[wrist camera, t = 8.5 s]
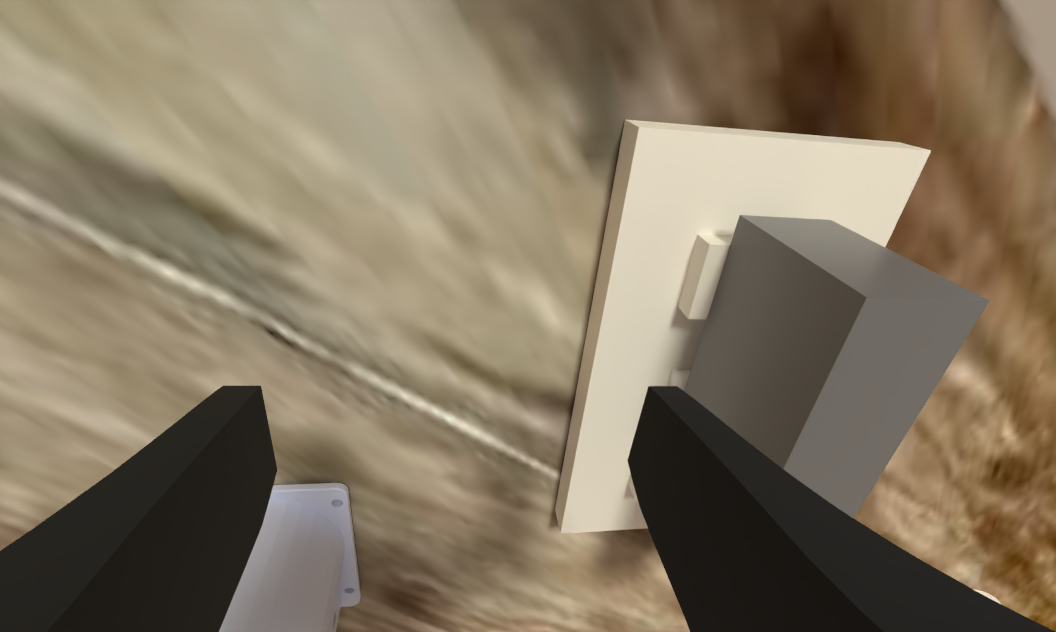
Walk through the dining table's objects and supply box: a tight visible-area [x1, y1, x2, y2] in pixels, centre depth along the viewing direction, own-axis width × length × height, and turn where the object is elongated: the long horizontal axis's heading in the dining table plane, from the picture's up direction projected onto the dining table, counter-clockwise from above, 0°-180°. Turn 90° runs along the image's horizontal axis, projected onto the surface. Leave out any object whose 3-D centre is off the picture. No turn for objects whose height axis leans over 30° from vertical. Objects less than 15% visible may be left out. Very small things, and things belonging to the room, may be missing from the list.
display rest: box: [555, 120, 931, 534], centre depth 22 cm, size 20×11×2 cm, turn 175°
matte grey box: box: [684, 215, 990, 518], centre depth 18 cm, size 15×4×6 cm, turn 174°
